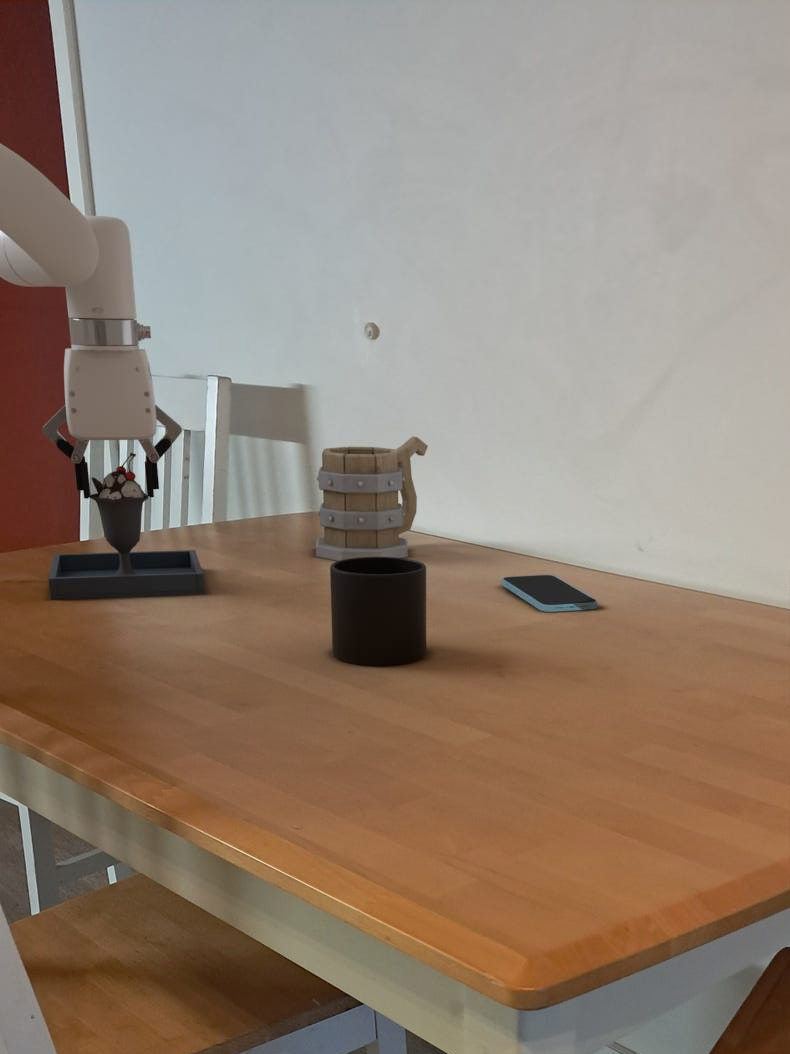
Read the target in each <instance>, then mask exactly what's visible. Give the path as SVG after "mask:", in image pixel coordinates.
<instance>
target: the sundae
mask: <svg viewBox="0 0 790 1054" xmlns="http://www.w3.org/2000/svg"><path fill="white" fill-rule="evenodd" d="M136 456H137V454H136V453H132V452H130V453H129V456H128V457H127V458H126V460H125V461H124V462H123V464H122V465H119V466H117V467H116V469H115V471H112V472H109V473H108V474H106V475H105V477H103V481H102V482H101V481H100V480H98V479H97V478H95V477H94V476H92V477H91V481H92V483H93V485H94V488H95V490H96V492H97V493H92V494H90V497H89V499H91V500H93V501H95V503H96V505H97V509H98V511H99V516H100V520H101V526H102V530H103V534H104V537H105V540H106V542H107V543H108V545H109V546H110V547H112V548H113V549H115V550H116V552H119V557H120V566H119V570H118V572H117V573H116V574H114V575H138V574H136V573H135V572H134V571H133V570H132V568H131V565H130V558H129V553H130V552H132V549H134V548H135V547H136V546H137V545H138V543H139V542H140V540H141V534H142V533H141V531H142V513H143V505H144V502H146V501H148V500H149V496H148V494H147V492H146V493H145V491H144V490H143V489H142V487H141V484H139V483H138V482H137V481H136V480H135V479H136V473H134V472H133V471H132V470H131V461H132V460H133V459H134V458H135V457H136ZM128 460H129V461H128ZM127 462H128V466H127V467H128V471H127V469H126V467H124V466H125V465H126V463H127Z"/></svg>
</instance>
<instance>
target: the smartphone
mask: <svg viewBox="0 0 790 1054" xmlns="http://www.w3.org/2000/svg"><path fill="white" fill-rule="evenodd" d="M501 585H502V587H504V588H505V589H507V590H508V591H510V592H511V593H513V594H514V595H516V596H518V597H519V598H521V599H522V600H524V601H525V602H527V603H528V604H530V605H531V606H532V607H535V608H536V609H537V610H539V611H541V612H545V613H555V612H556V613H557V612H570V611H571V612H572V611H585V610H595V609H597V608H598V600H597V599H595V598H594V597H592V596H590V595H588V594H587V593H585V592H584V591H581V590H580V589H578V588H576V587H575V586H573V585H572V584H570V583H568V582H566V581H565V580H563V579H561V578H560V577H558V576H556V575H553V574H534V575H533V574H531V575H518V576H517V575H516V576H515V575H513V576H503V577H501Z"/></svg>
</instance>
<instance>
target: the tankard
mask: <svg viewBox="0 0 790 1054" xmlns="http://www.w3.org/2000/svg"><path fill="white" fill-rule="evenodd" d="M428 447H429V446H428V444H427V443H425V441H423V440H422V439H421V438H419V437H417V436H411V437H410V438H408V440H406V441H405V442H404V443H403V444H401V445H400V446H399V447H397V448H396V449H395V448H387V447H379V446H375V447H374V446H339V447H329V448H328V447H326V448H324V449H323V450H322V452H321V461H322V462H321V463H322V464H321V465H322V466H321V467H319V469H318V475H317V477H316V481H318V489H319V490H321V491H322V494H323V496H322V498H323V499H322V500H323V502H321V504H320V506H319V511H318V512H317V515H318V516H319V525H320V526H321V527H324V528H323V529H324V530H323V531H324V537H318V539H317V540H316V543H315V557H316V558H321V559H325V560H331V561H334V562H337V561H340V560H344V559H350V558H360V557H395V558H405V559H407V558H408V556H409V553H408V552H409V549H408V540H407V538H404V537H399V535H401V534H403V533H406V532H408V531H411V529H412V526H413V523H414V521H415V517H416V515H417V506H418V505H417V504H418V496H417V492H416V488H415V485H414V481H413V477H412V462H411V458H412V456H414V455H415V454H416V456H420V457H424V456H425V455H426V452H427V451H428ZM399 492H400V496H401V499H402V500H401V503H399Z"/></svg>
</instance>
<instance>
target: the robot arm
mask: <svg viewBox="0 0 790 1054" xmlns="http://www.w3.org/2000/svg"><path fill="white" fill-rule="evenodd" d="M131 244H132V243H131V236H130V230H129V227H128V225H127V224H126V222H125V221H124V220H122V219H120V218H118V217H114V216H105V215H84V214H83V213H82V212H81V211H80V210H79V209H78V208H77V206H76V205H75V204H74V203H73V202H72V201H71V200H70V199H69V198H68V197H67V196H66V195H65V194H64V193H63V192H62V191H61V190H60V189H59V188H58V187H57V186H56V185H55V184H54V183H53V182H52V181H51V180H50V179H49V178H48V177H46V176H45V175H44V174H43V173H42V172H41V171H39V169H37V167H35V166H34V165H32V164H31V163H30V162H29V161H28V160H26V159H25V158H23V157H22V156H21V155H19V154H18V153H16V152H15V151H13V150H12V149H10V148H9V147H7V146H5V145H4V144H2V143H0V278H1V279H2V280H4V281H7V282H8V283H10V284H13V285H16V286H20V287H29V288H30V287H31V288H44V287H57V288H65V289H64V290H65V296H66V297H65V298H66V306H67V314H68V317H67V318H68V326H69V327H68V328H69V336H70V346H71V347H69V348H65V349H64V358H63V359H64V361H63V383H64V384H63V385H64V387H63V388H64V400H65V404H64V405H63V406H62V407H61V408H60V409H59V410H58V411H57V412H56V413H55V414H54V415H53V416H52V417H51V418H50V419H48V421H46V422H45V424H44V425H43V426H42V427H41V432H42V434H44V436H46V438H47V439H48V440H49V441H50V442H51V443H52V444H54V445H55V446H56V448H57V449H58V450H59V451H61V452H62V453H63V454H64V455H65V456H66V457H67V458H69V460H71V462H72V463H73V464H74V472H75V480H76V481H75V482H76V490H77V491H83V499H90V495H91V486H90V485H91V484H90V473H89V466H88V465H89V464H88V461H86V457H85V453H86V451H87V448H88V445H89V443H90V441H137V440H138V443H139V444H140V446H141V447H142V449H143V451H144V453H145V461H144V471H145V472H144V473H145V483H146V494H147V495H148V497H149V498H154V497H155V493H154V492H155V491H154V490H160V481H159V480H160V479H159V470H158V468H159V467H158V462H159V460H161V458H162V457H163V456H164V455H165V454H166V452H167V451H168V450H169V449H170V448H171V446H172V445H173V444H174V442H175V441H176V440H177V439H178V437H180V435H181V434H182V432H183V427H182V426H181V424H180V423H178V422H177V421H176V420H175V419H173V418H172V417H171V416H170V415H168V414H167V412H165V411H164V410H163V409H162V408H160V407H159V406H158V405H156V401H155V400H156V399H155V392H154V391H155V390H154V384H153V377H152V372H151V366H150V362H149V358H148V354H147V350H146V349H145V348H140V345H139V343H140V342H142V340H143V341H144V340H145V339H152V332H151V331H152V330H151V326H150V325H144V324H140V322H138V320H137V305H136V294H135V281H134V269H133V258H132V245H131ZM65 422H66V424H67V428H68V432H69V434H70V436H72V437H73V438H75V439H76V442H75V444H74V445H73V444H71V443H70V441H68V440H67V439H66V438H65V437H64V436H62V434H61V433H60V432H59V429H60V427H61V426H62V425H63V424H64V423H65ZM157 422H159V423H160V424H162V426H164V427H165V428H166V433H165V434H164V435H163V436H162V437H161V439H159V441H158V442H156V444H155V445H154V443H153V441H152V440H151V438H153V437H154V436H155V435H156V434H157V427H158V423H157Z"/></svg>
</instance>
